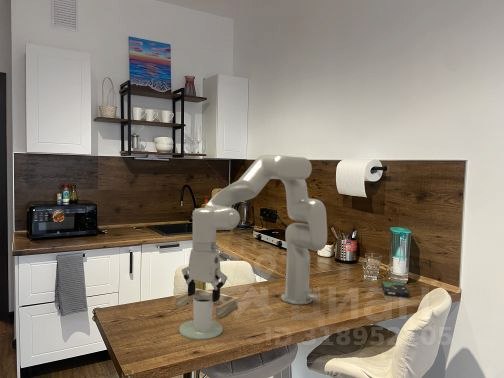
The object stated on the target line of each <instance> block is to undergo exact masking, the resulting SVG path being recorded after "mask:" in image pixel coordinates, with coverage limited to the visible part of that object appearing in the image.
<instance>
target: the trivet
mask: <svg viewBox="0 0 504 378" xmlns="http://www.w3.org/2000/svg"><path fill="white" fill-rule="evenodd" d="M223 329H224V328H223V325H221V323H219V322H218V321H214V320H212V328H211V330H209V331H206V332H198V331H195V330H194V319H193V320H189V321H186V322H184V323H182V324H181V325H180V326H179V334H180V335H181V336H182V337H184V338H187V339H190V340H196V341H197V340H199V341H205V340H211V339H215V338H217V337H219V336H220V335H221V334H222V333H223Z"/></svg>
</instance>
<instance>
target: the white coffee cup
mask: <svg viewBox="0 0 504 378" xmlns="http://www.w3.org/2000/svg"><path fill="white" fill-rule="evenodd" d="M192 306H193V312H192V313H193V320H194V330H195V331H198V332H206V331H209V330H211V328H212V321H213V313H214V303H213V301H212V296H209V295H198V296H195V297H194V298H193V302H192Z"/></svg>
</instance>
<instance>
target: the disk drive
mask: <svg viewBox="0 0 504 378" xmlns="http://www.w3.org/2000/svg"><path fill="white" fill-rule="evenodd" d="M381 288H382V292H383V295H384V296H387V297H388V296H389V297H396V298H405V299H410V291H409V289H408V288H407V285H406V284H405V283H403V282H402V283H401V282H393V281H391V282H390V281H382V282H381Z"/></svg>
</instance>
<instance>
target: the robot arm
mask: <svg viewBox="0 0 504 378" xmlns="http://www.w3.org/2000/svg"><path fill="white" fill-rule="evenodd" d="M312 171H313V169H312V163H311V162H310V160H309V159H308V158H306V157H304V156H289V155H280V154H279V155H278V154H264V155H260V156H258V157H257V158H256V159H255V160H254V161H253V162H252V163H251V165H250V166H249V167H248V168H247V170H246V171H245V172H244V173H243V174H241V176H240V177H239V178H238V180H236V181H235V182H232V183H231V184H229V185H228V186H226V187H224V188H223V189H221V190H219V191H218V192H217V193H216V194H214V195H213V196H212V197H211V199H210V200H209V201H208V202H207V203H206V204H205V206H204V207H199V208H195V209H194V210H193V212H192V247H191V248H192V249H191V250H190V254H189V260H188V266H187V267H184V268H182V269H181V272H182V275H183V278H184V280H185V281H186V282H185V283H186V284H187V292H188V296H192V295H194V294H195V282H194V281H195V280H196V281H201V282H206V284H210V285H211V286H212V288H213V289H212V292H213V293H212V301H213V302H216V301H217V300H219V298H220V294H221V288H222V287H223V286H225V284H226V282H227V280H228V276H227V275H226V274H225V273H223V272H222V271H221V260H220V259H221V258H220V254H219V251H218V249H219V247H220V246H219V244H217V230H218V231H220V230H221V231H222V230H223V231H225V230H226V231H229V230H233V229H235V228H236V227H237V226H238V225H239V223H240V220H241V216H240V213H239V211H237V209H236V208H233V207H232V206H234V205H235V204H237V203H240V202H244V201H248V200H251V199H254V198H256V197H257V196H258V195H259V193H260V192H261V191H262V190H263V188H264V187H265V186H266V184H267V183H268V182H269V181H270V180H273V179H274V180H281V182H282V184H283V185H284V187H285V195H286V209H287V216H288V217H289V218H290V219H291V220H293V221H295V222H292V223H290V224H289V225H288V226H287V228H286V229H285V245H286V265H285V266H286V269H285V291H284V293H282V294H281V298H280V299H281V300H282V301H283V302H285V303H287V304H291V305H300V306H301V305H308V304H310V303H312V301H313V300H314V301H318V299H319V295H318V294H317V293H314V292H312V289H311V288H310V287H309V286H310V271H311V270H310V269H311V255H310V251H309V250H311V251H315V252H316V251H322V250H323V249H324V248H325V247H326V245H327V242H328V225H327V224H328V222H327V209H326V207H325V204H324V203H323V202H322V201H321V200H319V199H315V198H309V195H308V194H309V193H308V188H307V182H306V180H307V179H308V178H309V177H310V175H312ZM296 221H297V222H296ZM306 223H307V224H306Z"/></svg>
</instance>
